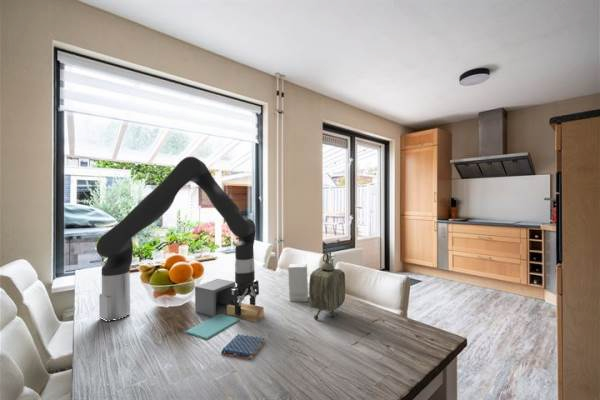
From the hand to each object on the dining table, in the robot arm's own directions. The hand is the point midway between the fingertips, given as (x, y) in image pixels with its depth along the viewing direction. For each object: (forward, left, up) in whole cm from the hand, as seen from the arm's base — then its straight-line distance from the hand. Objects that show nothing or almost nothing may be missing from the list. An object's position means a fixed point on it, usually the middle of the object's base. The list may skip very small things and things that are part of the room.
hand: (245, 311), depth 105 cm
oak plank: (0, 0, -2) cm, 2 cm away
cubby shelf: (0, +16, -2) cm, 16 cm away
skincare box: (+25, -10, -2) cm, 27 cm away
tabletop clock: (+15, -29, -2) cm, 33 cm away
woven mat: (-18, -15, -3) cm, 24 cm away
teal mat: (-12, +4, -2) cm, 13 cm away
